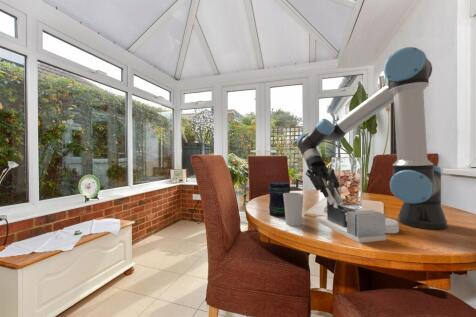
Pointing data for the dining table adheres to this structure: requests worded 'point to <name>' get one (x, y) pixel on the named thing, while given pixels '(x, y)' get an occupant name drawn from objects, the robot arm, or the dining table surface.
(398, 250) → the dining table surface
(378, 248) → the dining table surface
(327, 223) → the base board
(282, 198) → the storage jar
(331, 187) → the dark grey l-shaped bracket
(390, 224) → the coaster
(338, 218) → the sleeve and socket
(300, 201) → the cup
